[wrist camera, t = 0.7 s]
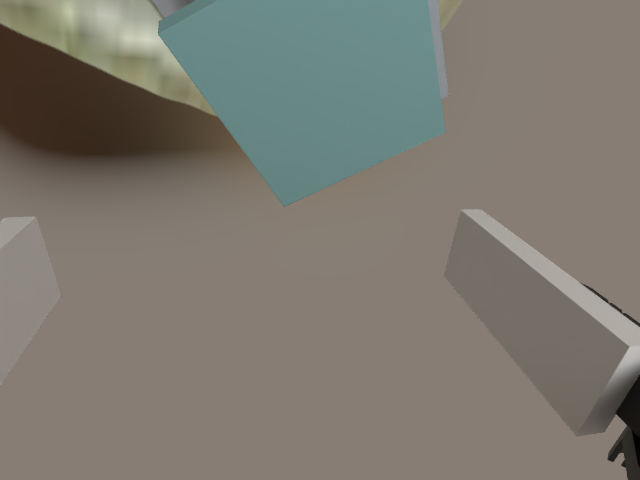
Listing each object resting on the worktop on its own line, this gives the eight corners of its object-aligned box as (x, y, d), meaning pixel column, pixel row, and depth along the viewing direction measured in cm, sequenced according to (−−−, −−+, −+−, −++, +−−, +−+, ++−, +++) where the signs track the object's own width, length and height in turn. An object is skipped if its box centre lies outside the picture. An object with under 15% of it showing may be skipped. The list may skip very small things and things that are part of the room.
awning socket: (214, 88, 41) (232, 235, 28) (114, -58, 30) (66, 71, 17) (367, 6, 38) (467, 127, 25) (318, -186, 28) (447, -149, 14)
